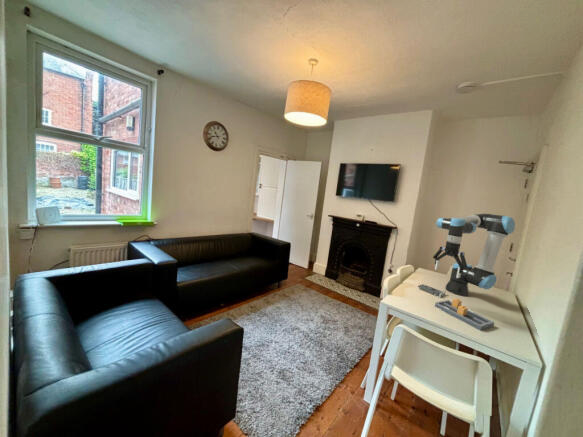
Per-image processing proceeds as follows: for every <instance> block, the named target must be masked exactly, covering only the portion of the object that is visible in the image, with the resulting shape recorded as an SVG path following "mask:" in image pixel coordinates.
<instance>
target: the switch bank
mask: <svg viewBox="0 0 583 437" xmlns="http://www.w3.org/2000/svg"><path fill="white" fill-rule="evenodd" d="M452 302H453V301H451V300H449V299H447V300H441V301H436V302H435V304H434V307H435V308H436V307H437V308H436V309H438V308H439V310H440V309H441V310H440V311H442V312H444V313H446V314H447V315H449V316H452V317H454V318H456V319H457V320H459V321H462V322H463V323H465V324H467V325H469V326H471V327H473V328H475V329H477V330H478V331H483V330H486V329H491V328H493V327H494V324H495V321H493V320H491V319H489V318H486V317H484V316H482V315H480V314H478V313H476V312H474V311H473V310H470V309H468V310H467V314H466V315H464V316H462V315H460V314H458V313H457V310H458V308H455V307H453V306H452Z"/></svg>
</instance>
